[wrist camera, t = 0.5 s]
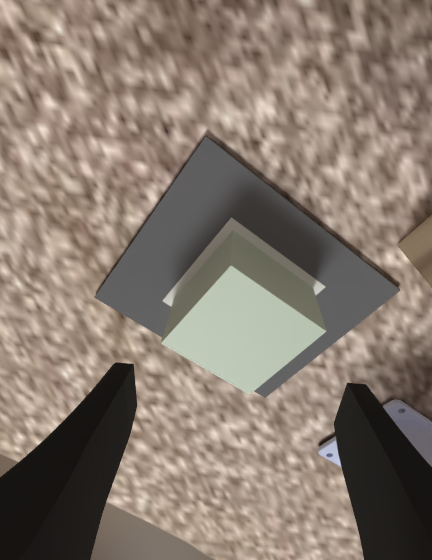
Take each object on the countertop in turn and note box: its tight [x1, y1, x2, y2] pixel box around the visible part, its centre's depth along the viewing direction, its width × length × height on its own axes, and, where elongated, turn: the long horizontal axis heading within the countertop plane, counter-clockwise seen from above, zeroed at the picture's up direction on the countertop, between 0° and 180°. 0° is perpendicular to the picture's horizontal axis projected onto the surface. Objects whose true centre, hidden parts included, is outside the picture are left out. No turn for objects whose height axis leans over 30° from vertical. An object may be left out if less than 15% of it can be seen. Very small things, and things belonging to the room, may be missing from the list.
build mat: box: [95, 135, 400, 397], centre depth 22 cm, size 14×12×1 cm
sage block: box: [161, 230, 326, 395], centre depth 20 cm, size 6×6×4 cm
